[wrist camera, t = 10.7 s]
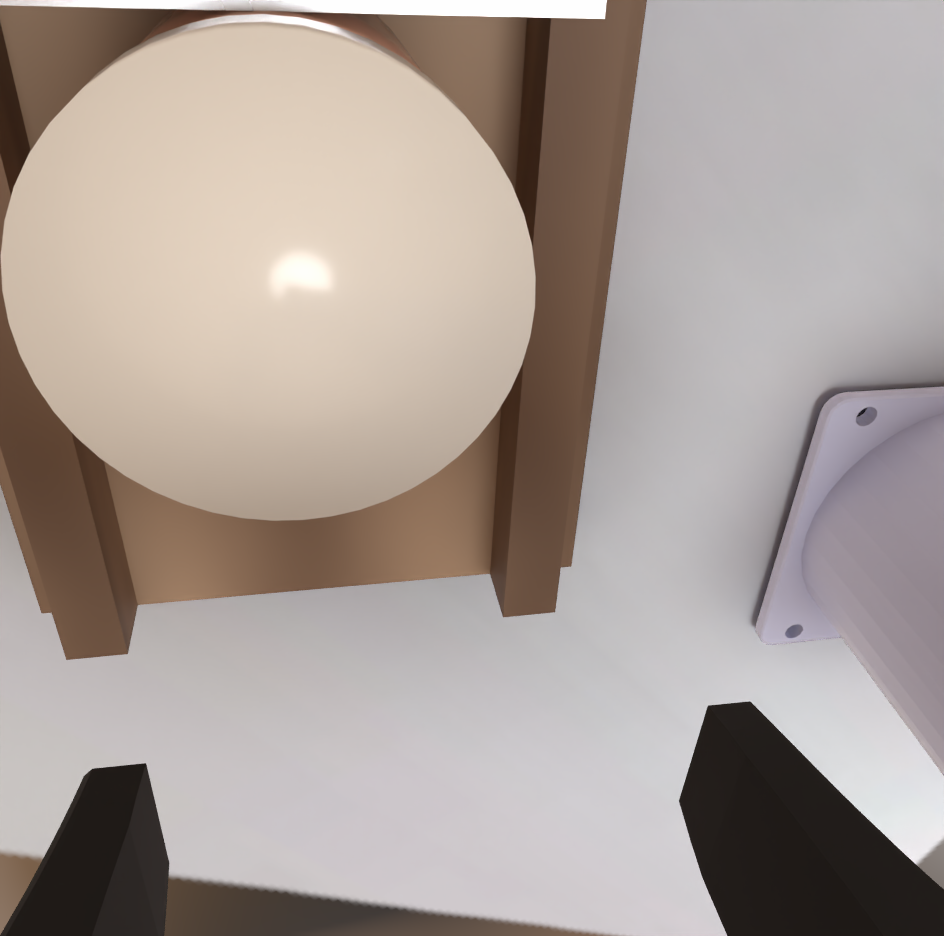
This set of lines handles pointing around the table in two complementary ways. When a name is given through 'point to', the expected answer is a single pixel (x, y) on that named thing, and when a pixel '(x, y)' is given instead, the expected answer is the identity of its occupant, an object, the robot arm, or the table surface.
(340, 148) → the jar
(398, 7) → the plate
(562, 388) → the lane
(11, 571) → the table surface
